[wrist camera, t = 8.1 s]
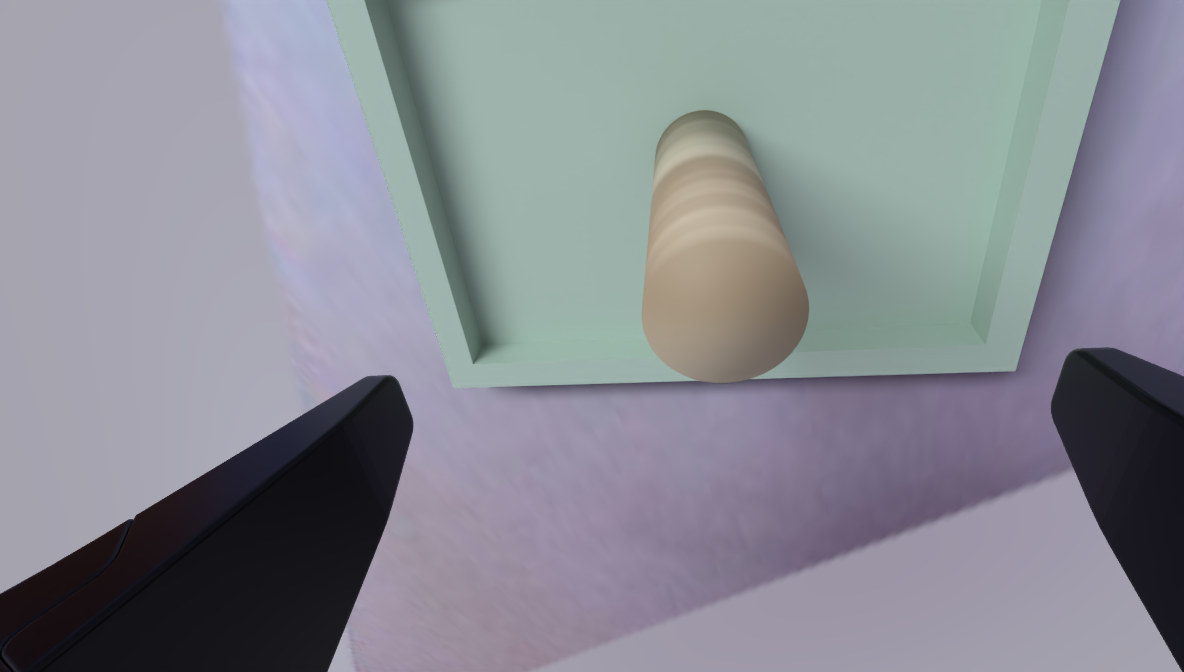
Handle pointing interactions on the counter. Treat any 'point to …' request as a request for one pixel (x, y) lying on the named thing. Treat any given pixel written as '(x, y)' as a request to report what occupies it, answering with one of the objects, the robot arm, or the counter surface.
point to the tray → (778, 144)
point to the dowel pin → (717, 258)
